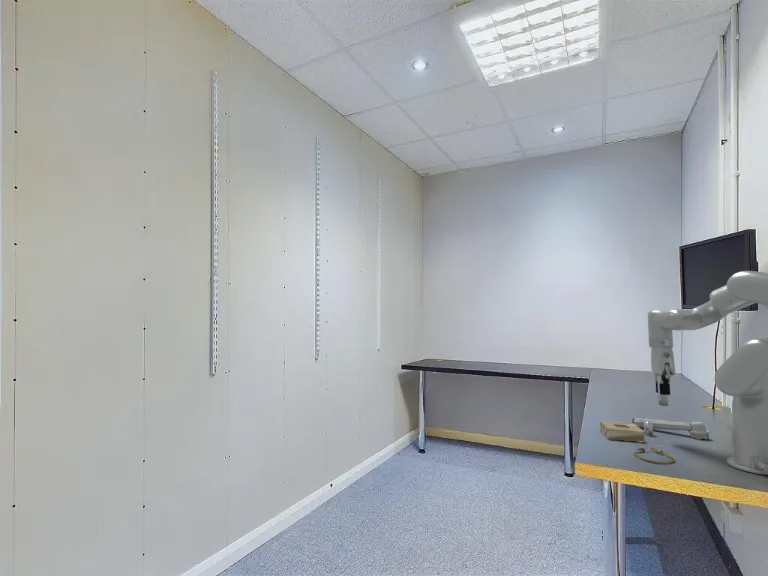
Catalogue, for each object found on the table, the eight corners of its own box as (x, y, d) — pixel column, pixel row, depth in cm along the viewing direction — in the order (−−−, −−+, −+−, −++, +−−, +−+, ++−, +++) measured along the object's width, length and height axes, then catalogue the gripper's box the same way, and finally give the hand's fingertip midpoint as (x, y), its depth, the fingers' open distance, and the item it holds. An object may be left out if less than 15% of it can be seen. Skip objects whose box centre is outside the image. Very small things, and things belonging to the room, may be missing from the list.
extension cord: (680, 456, 140) (680, 450, 141) (670, 468, 129) (670, 462, 129) (639, 448, 149) (638, 442, 149) (626, 458, 138) (626, 452, 138)
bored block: (644, 442, 154) (644, 431, 154) (608, 439, 157) (608, 428, 157) (634, 433, 165) (633, 423, 166) (600, 431, 168) (600, 421, 169)
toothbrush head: (634, 416, 178) (707, 419, 161) (637, 433, 177) (711, 437, 160) (631, 418, 175) (705, 421, 157) (634, 435, 173) (709, 440, 156)
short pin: (654, 436, 162) (653, 423, 162) (645, 435, 163) (645, 422, 163) (651, 434, 165) (651, 421, 165) (642, 433, 166) (642, 420, 166)
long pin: (669, 406, 153) (668, 372, 154) (660, 405, 154) (658, 372, 155) (666, 404, 156) (664, 371, 157) (657, 404, 157) (655, 371, 158)
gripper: (681, 345, 148) (684, 398, 147) (663, 342, 164) (666, 390, 162) (657, 344, 150) (659, 397, 149) (642, 342, 166) (644, 389, 164)
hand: (663, 393), depth 155 cm, fingers closed on long pin, 3 cm apart
